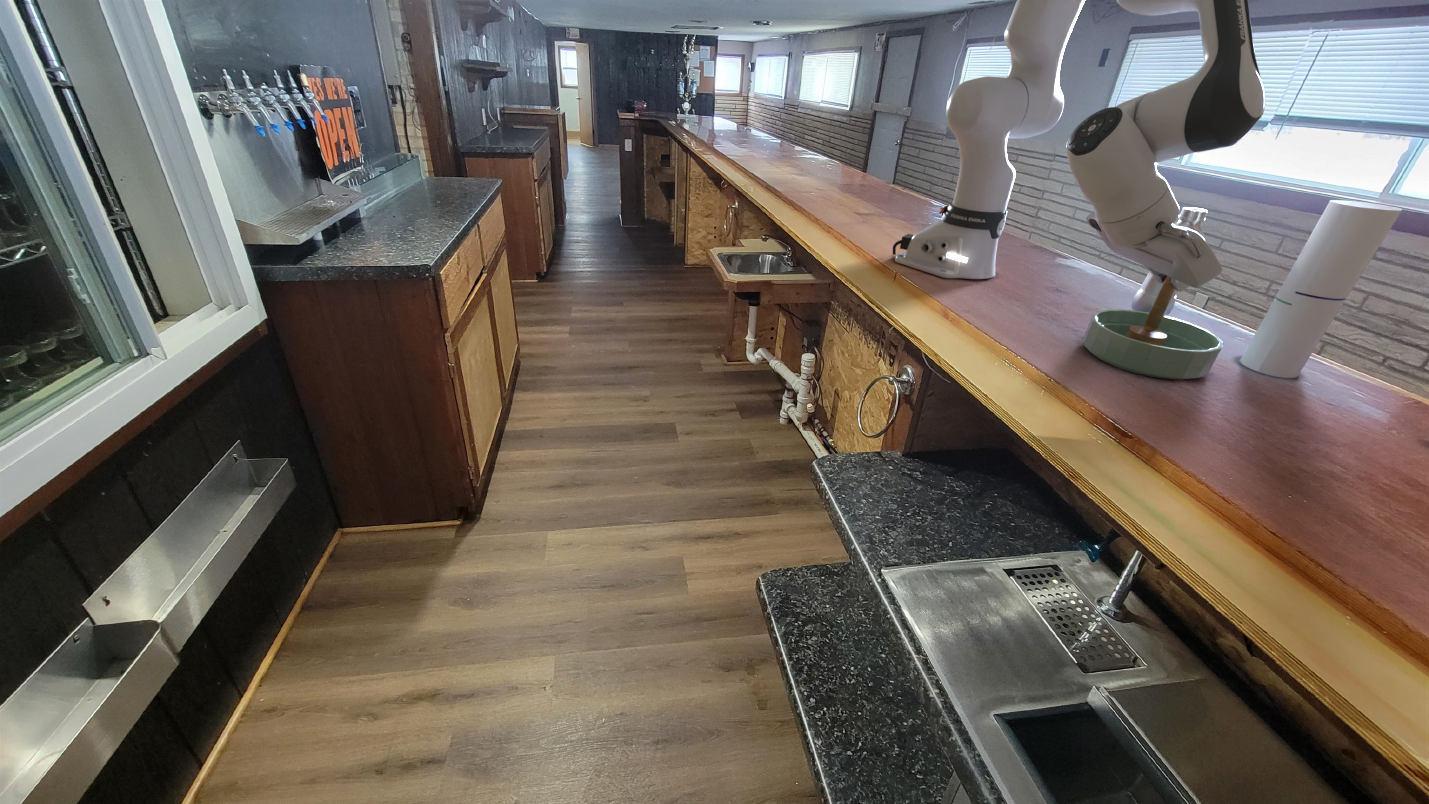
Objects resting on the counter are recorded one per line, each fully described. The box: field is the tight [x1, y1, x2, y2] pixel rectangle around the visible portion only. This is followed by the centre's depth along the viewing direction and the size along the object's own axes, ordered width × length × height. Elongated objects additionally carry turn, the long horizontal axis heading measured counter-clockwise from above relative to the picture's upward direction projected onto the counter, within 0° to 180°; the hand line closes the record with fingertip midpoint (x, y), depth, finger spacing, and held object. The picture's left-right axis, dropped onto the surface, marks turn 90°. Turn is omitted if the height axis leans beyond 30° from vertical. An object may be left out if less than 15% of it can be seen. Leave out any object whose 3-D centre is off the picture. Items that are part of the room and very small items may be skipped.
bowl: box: [1082, 308, 1224, 380], centre depth 90 cm, size 17×17×5 cm
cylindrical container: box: [1239, 199, 1403, 379], centre depth 84 cm, size 7×7×25 cm
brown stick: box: [1126, 276, 1175, 346], centre depth 88 cm, size 5×5×18 cm
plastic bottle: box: [1130, 206, 1208, 317], centre depth 104 cm, size 6×7×20 cm
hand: (1174, 284), depth 87 cm, fingers closed on brown stick
